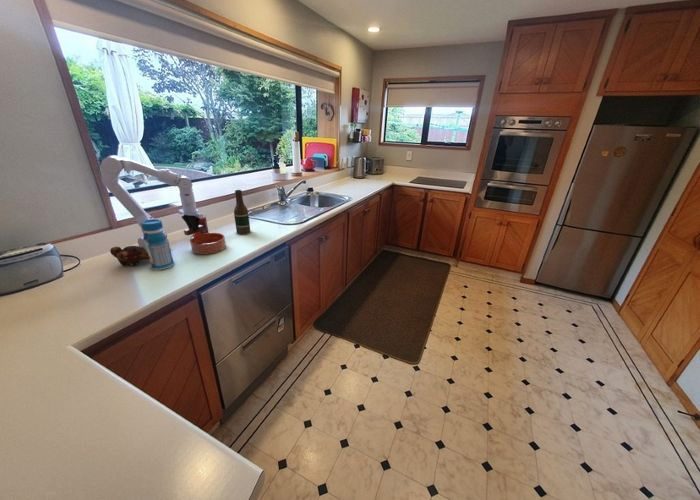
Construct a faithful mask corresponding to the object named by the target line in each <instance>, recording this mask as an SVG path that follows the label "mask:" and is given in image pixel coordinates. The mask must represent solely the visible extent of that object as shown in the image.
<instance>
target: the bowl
mask: <svg viewBox="0 0 700 500" xmlns="http://www.w3.org/2000/svg"><path fill="white" fill-rule="evenodd" d="M189 243H190V247H191V251H192V252H193V253H194V254H197V255H212V254H216V253H219V252H222V250H224V249H225V248H226V247H227V242H226V238H225V235H224V234H222V233H219V232H209V233H205V234H200V235H197V236H192V237H191V238H190V239H189Z"/></svg>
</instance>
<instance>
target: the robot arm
mask: <svg viewBox="0 0 700 500" xmlns="http://www.w3.org/2000/svg"><path fill="white" fill-rule="evenodd" d="M99 170H100V176H101V183H102V184H103V186H104V187H105V188H106V189H107V190H108V191H109V192H110V193H111V194H112V195H113V196H114V197H115V199H116V200H117V201H118V202H119V203H120V204H121V205H122V206H123V208H125V209H126V210H127V212H128V213H129V214H130V215H131V216H132V217H133V218H134V219H135V220H136V223H137V225H138V226H139V227H140V229H141V232H142V236H141V237H139V238H138V239H137V244H138V246H139V247H142V248H144V249H145V250H146V251H147V248H146V247H145V241H144V239H143V237H144V234H145V231H144V230H143V228H142V224H141V223H142V222H143V221H146V220H151V219H156V218H155V217H152V216H151V214H150V213H148V212H146V211H145V209H144V208H143V207H142V206H141V205H140V204H139V202H138V201H137V200H136V199H135V197H133V195H132V194H131V193H129V191H128V190H127V189H126V188H125V186H124V185H123V184H122V183H121V182H120V176H121V173H122V171H124V172H131V171H135V172H137V173H138V172H139V173H141V174H144V175H147V176H150V177H154V178H156V179H157V181H158V182H160V183H163V184H167V185H169V186H172V187H177V188H178V190H179V198H180V202H181V207H182V208H181V209H178V210H177V211H178V214H179V215H182V216H181V219H182V220H183V221H184V222H185V224H186V225H187V229H189V228H193V230H194V231H196V230H198V227H199V221H200V219H201V218H203V215H204V213H202V212H200V210H199V209H197V204H196V203H197V202H196V198H195V194H194V191H193V183H192V181H191V179H190V177H188V176H187V175H183V174H181V173H176V172H174V171H170V169H169V168H161V169H156V168H154V167H151V166H149V165H146V164H143V163H140V162H138V161H135V160H133V159H130V158H127V157H123V156H122V157H120V156H119V155H116V154H111V155H108V156H106V157H104V158H103V159H102V161H101V163H100V166H99ZM170 250H172V249H171V248H170ZM147 253H148V252H147Z"/></svg>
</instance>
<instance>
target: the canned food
mask: <svg viewBox="0 0 700 500" xmlns="http://www.w3.org/2000/svg"><path fill="white" fill-rule="evenodd" d="M199 225H203V227H204V230H203V231H200V232H197V233H194V234H192V237H194V236H197V235H200V234H205V233H210V232H209V226H208V221H207V216H206V215H205V214H203V218H201V219H200V221H199Z"/></svg>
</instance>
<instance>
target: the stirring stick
mask: <svg viewBox="0 0 700 500" xmlns="http://www.w3.org/2000/svg"><path fill="white" fill-rule="evenodd" d="M203 230H204V227H203V225H199V227H198V230H196V231H194V230H193V228H186V229H184V230H183V233H184V235H185V236H191V235H193V234H194V233H197V232H200V231H203Z"/></svg>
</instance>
